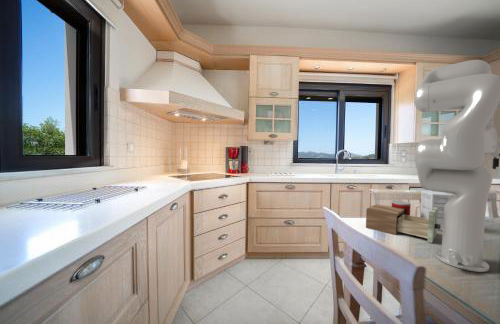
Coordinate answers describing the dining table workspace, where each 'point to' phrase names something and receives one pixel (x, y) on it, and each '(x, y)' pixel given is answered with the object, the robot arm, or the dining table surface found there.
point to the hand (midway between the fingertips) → (476, 168)
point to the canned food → (402, 206)
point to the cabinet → (383, 218)
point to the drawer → (419, 225)
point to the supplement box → (434, 204)
